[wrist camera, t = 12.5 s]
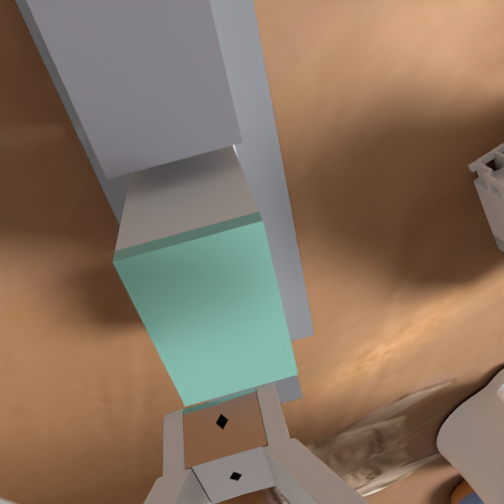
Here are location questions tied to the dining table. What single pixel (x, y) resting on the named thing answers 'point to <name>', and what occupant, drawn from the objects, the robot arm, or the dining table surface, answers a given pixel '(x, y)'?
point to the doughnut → (465, 495)
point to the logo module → (203, 276)
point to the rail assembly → (174, 107)
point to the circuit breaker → (492, 191)
